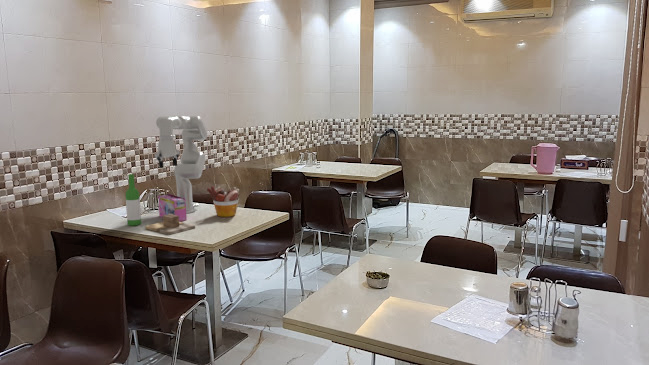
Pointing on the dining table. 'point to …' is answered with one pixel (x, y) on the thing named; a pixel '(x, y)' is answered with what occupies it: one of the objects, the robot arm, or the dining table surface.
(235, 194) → the bucket of meat
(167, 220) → the walnut block
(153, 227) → the beige segmented panel
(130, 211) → the wine bottle
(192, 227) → the board
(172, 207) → the gum box
